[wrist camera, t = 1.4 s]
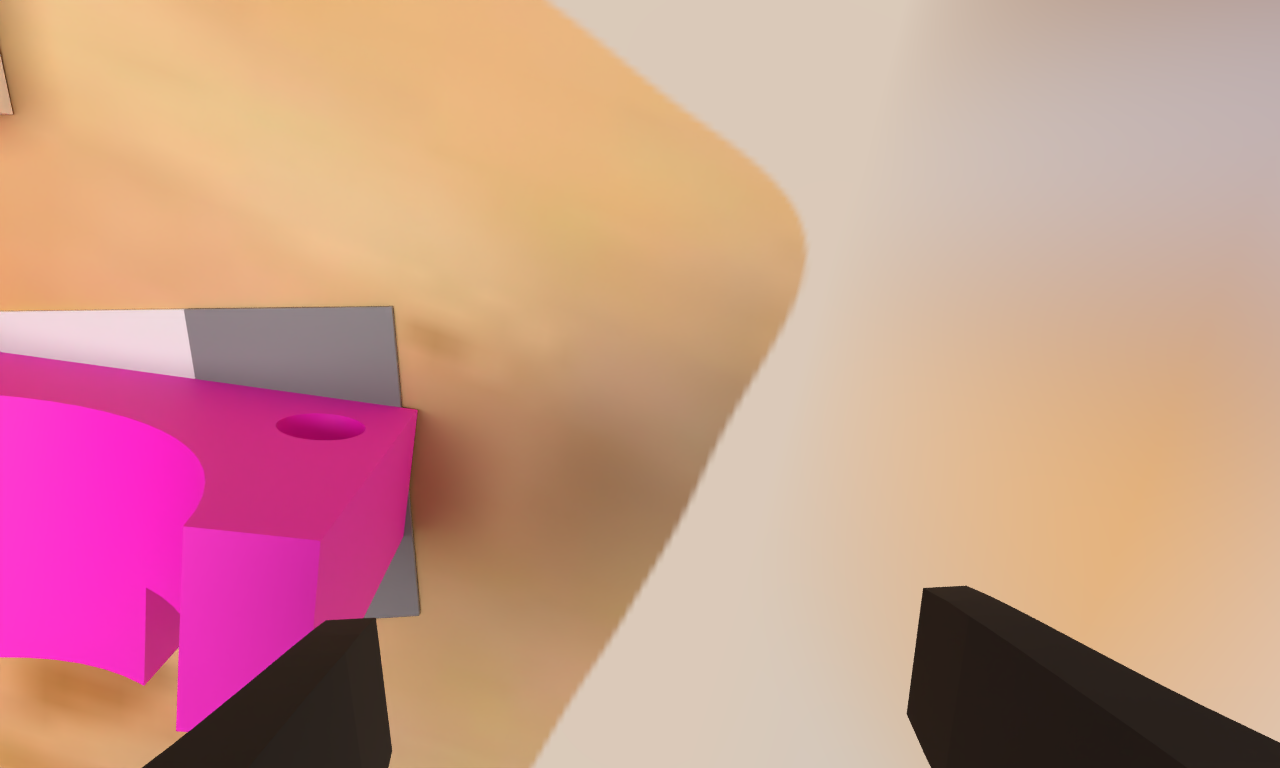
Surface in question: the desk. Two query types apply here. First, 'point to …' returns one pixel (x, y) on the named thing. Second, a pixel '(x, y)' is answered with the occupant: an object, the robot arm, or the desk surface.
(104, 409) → the toy block
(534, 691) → the desk surface
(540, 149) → the desk surface
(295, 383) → the board
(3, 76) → the die
